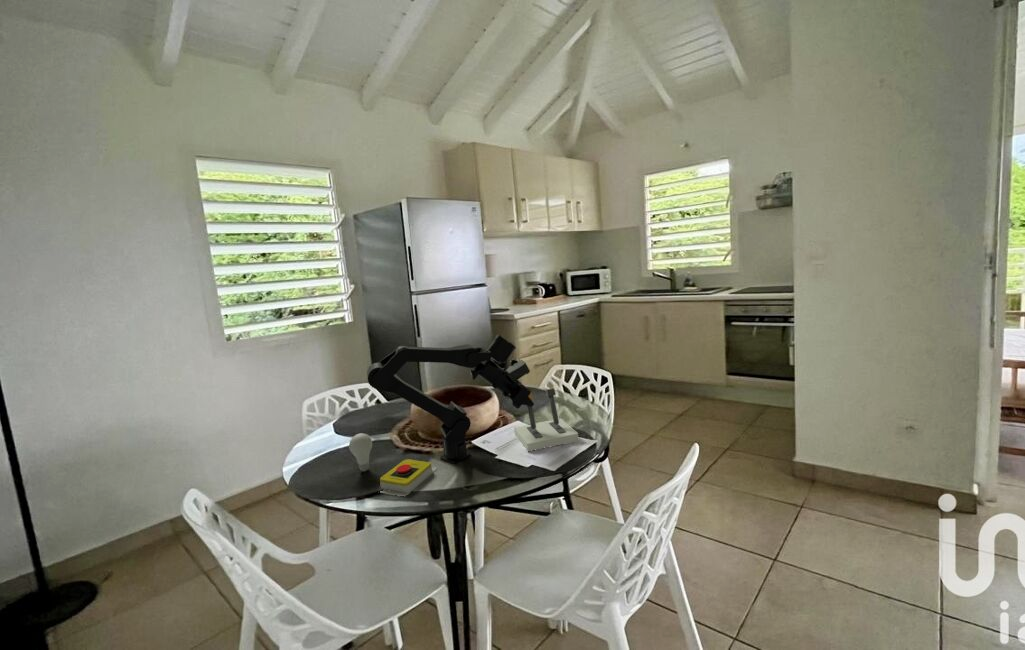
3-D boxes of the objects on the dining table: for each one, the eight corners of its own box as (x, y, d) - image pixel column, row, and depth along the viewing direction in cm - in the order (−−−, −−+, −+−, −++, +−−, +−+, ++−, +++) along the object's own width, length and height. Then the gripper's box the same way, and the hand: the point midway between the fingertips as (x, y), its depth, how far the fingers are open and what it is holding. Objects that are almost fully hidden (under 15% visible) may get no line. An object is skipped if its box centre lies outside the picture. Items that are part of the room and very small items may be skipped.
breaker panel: (527, 452, 125) (523, 405, 123) (514, 435, 138) (511, 392, 135) (578, 441, 129) (575, 396, 127) (561, 425, 142) (558, 384, 139)
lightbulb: (355, 478, 118) (349, 441, 116) (351, 469, 124) (346, 433, 122) (377, 472, 121) (372, 435, 119) (373, 463, 126) (368, 427, 124)
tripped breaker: (531, 430, 131) (524, 393, 133) (529, 430, 133) (522, 394, 135) (538, 428, 132) (531, 392, 134) (536, 428, 133) (530, 392, 135)
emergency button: (373, 477, 110) (409, 451, 124) (375, 493, 111) (411, 465, 124) (402, 482, 106) (436, 454, 120) (404, 499, 107) (438, 469, 120)
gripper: (521, 360, 119) (561, 392, 123) (503, 347, 136) (538, 376, 141) (495, 392, 118) (537, 423, 123) (481, 375, 136) (517, 403, 140)
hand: (532, 404), depth 132 cm, fingers closed
